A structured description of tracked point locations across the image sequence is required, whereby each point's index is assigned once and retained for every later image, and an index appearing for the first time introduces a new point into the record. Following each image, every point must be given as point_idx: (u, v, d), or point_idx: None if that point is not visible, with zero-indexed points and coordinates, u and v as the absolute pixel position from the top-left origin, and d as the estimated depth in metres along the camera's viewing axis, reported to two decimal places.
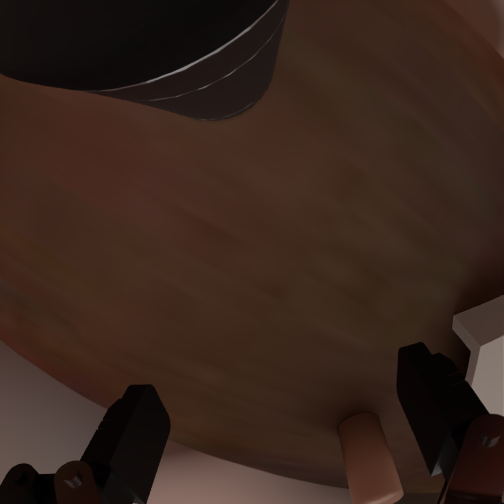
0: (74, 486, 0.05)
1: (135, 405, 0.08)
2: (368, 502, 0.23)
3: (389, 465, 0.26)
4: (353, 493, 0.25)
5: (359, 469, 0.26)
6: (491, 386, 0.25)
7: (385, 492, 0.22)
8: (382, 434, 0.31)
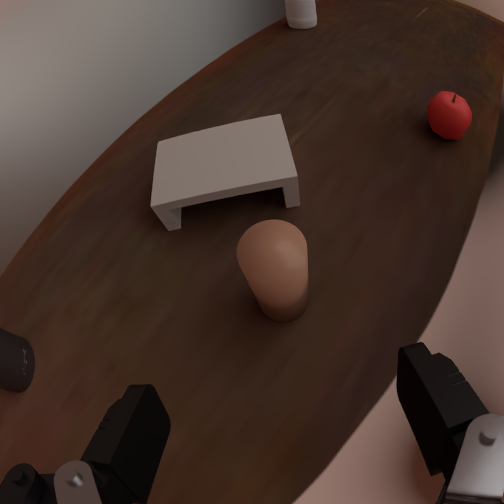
0: (74, 486, 0.05)
1: (135, 405, 0.08)
2: (261, 265, 0.25)
3: None
4: (264, 289, 0.25)
5: (252, 289, 0.28)
6: (209, 171, 0.38)
7: (237, 249, 0.26)
8: None
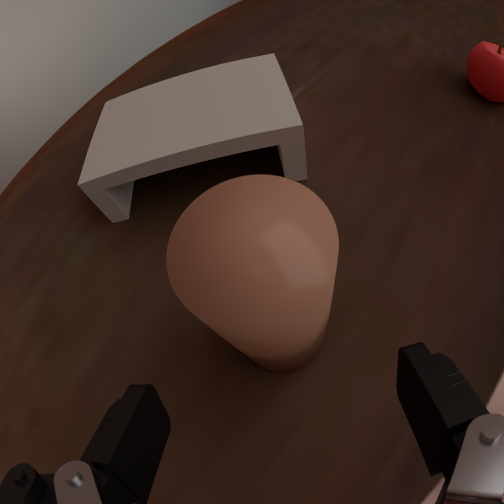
0: (74, 486, 0.05)
1: (135, 405, 0.08)
2: (222, 282, 0.10)
3: None
4: (233, 338, 0.10)
5: None
6: (164, 128, 0.23)
7: (169, 244, 0.11)
8: None
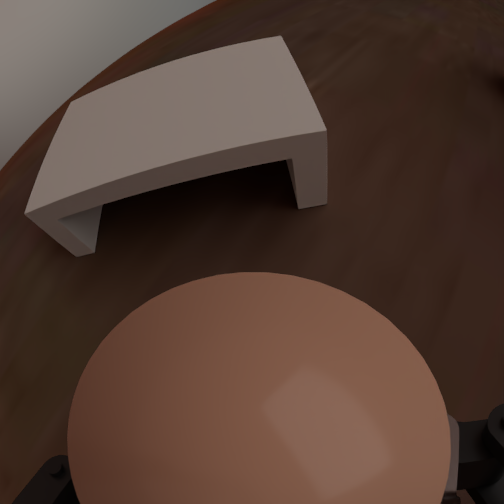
0: None
1: None
2: None
3: None
4: None
5: None
6: (131, 135, 0.17)
7: (71, 427, 0.04)
8: None
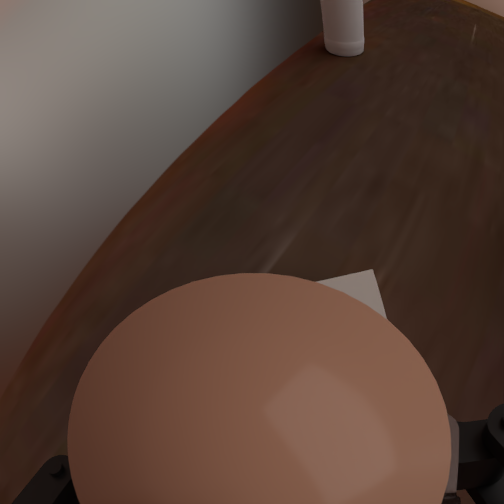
0: None
1: None
2: None
3: None
4: None
5: None
6: None
7: (71, 428, 0.04)
8: None
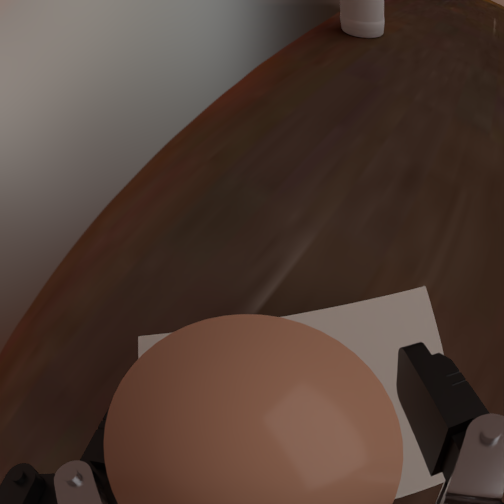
0: (74, 486, 0.05)
1: None
2: None
3: None
4: None
5: None
6: None
7: (106, 434, 0.05)
8: None
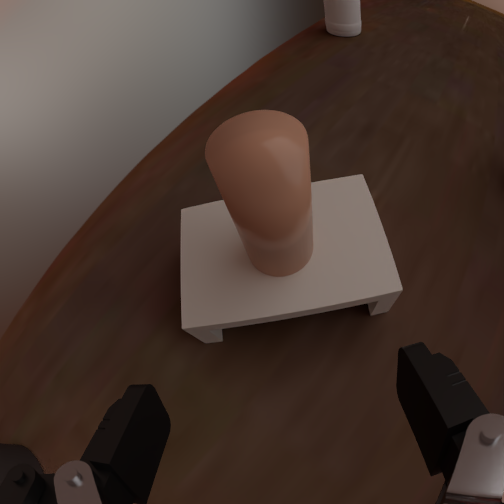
0: (74, 486, 0.05)
1: (135, 405, 0.08)
2: (239, 160, 0.16)
3: None
4: (244, 199, 0.17)
5: (230, 211, 0.19)
6: None
7: (207, 145, 0.17)
8: None
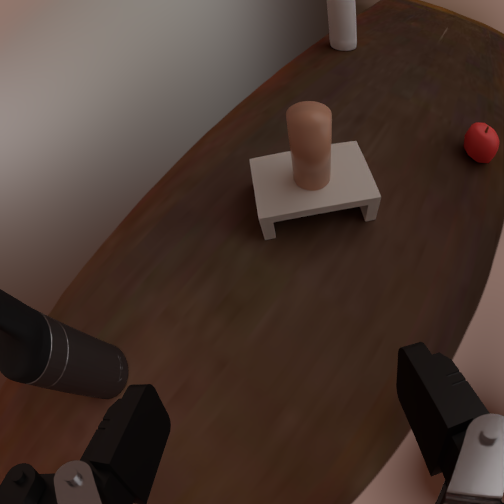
0: (74, 486, 0.05)
1: (135, 405, 0.08)
2: (303, 120, 0.35)
3: None
4: (304, 137, 0.36)
5: (294, 146, 0.39)
6: (307, 190, 0.45)
7: (286, 114, 0.36)
8: None
